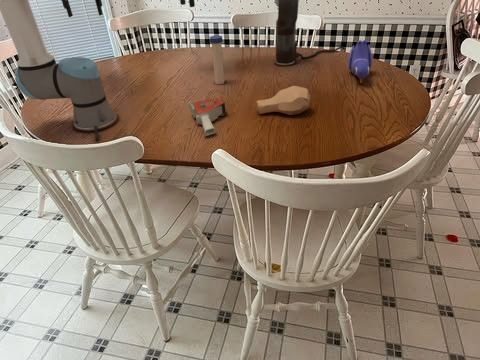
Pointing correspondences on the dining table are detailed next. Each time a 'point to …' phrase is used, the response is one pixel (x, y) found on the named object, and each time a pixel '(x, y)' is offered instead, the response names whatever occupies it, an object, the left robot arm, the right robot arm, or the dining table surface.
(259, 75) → the dining table surface
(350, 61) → the toy
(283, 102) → the squash
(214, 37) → the lid
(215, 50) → the cream plastic cylinder
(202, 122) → the tape dispenser
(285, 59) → the right robot arm
